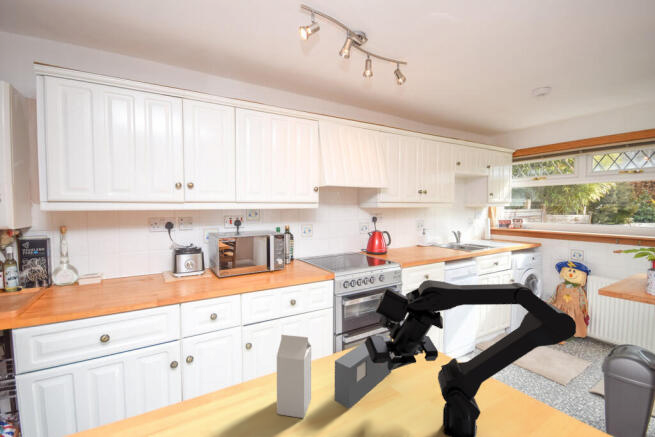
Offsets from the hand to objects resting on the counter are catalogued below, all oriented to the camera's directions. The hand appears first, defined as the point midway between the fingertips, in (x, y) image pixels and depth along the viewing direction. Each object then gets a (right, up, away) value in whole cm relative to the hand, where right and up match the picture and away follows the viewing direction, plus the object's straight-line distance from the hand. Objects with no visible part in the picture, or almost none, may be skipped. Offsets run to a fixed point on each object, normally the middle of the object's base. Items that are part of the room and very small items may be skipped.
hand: (389, 368), depth 77 cm
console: (-5, -9, +8) cm, 13 cm away
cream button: (-8, -4, +3) cm, 9 cm away
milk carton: (-25, -10, -1) cm, 27 cm away
